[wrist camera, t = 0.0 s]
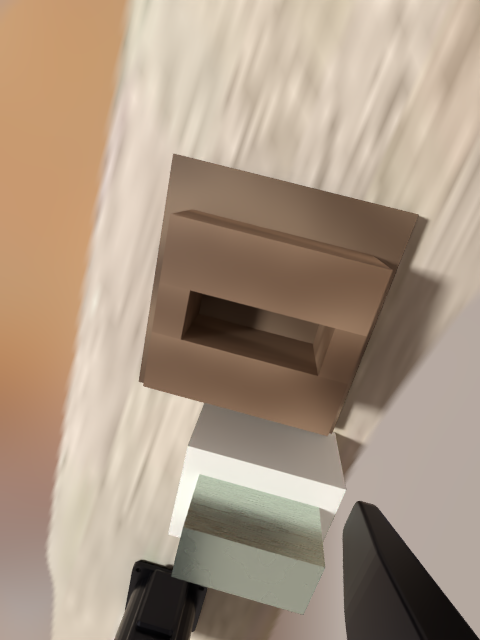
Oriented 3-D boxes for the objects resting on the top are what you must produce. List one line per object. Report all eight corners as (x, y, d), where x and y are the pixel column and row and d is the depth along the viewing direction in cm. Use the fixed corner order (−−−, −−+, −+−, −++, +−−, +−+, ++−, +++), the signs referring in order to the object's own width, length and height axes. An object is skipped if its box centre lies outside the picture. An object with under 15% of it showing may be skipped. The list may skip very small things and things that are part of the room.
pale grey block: (299, 503, 25) (303, 614, 18) (201, 476, 25) (171, 576, 19) (314, 463, 24) (325, 567, 17) (211, 435, 24) (182, 527, 17)
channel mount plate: (330, 424, 24) (340, 480, 20) (144, 374, 25) (111, 417, 20) (412, 213, 19) (452, 220, 15) (178, 155, 20) (145, 144, 15)
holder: (305, 508, 27) (308, 574, 22) (188, 475, 27) (167, 534, 23) (335, 432, 25) (346, 489, 20) (206, 397, 25) (187, 445, 20)
